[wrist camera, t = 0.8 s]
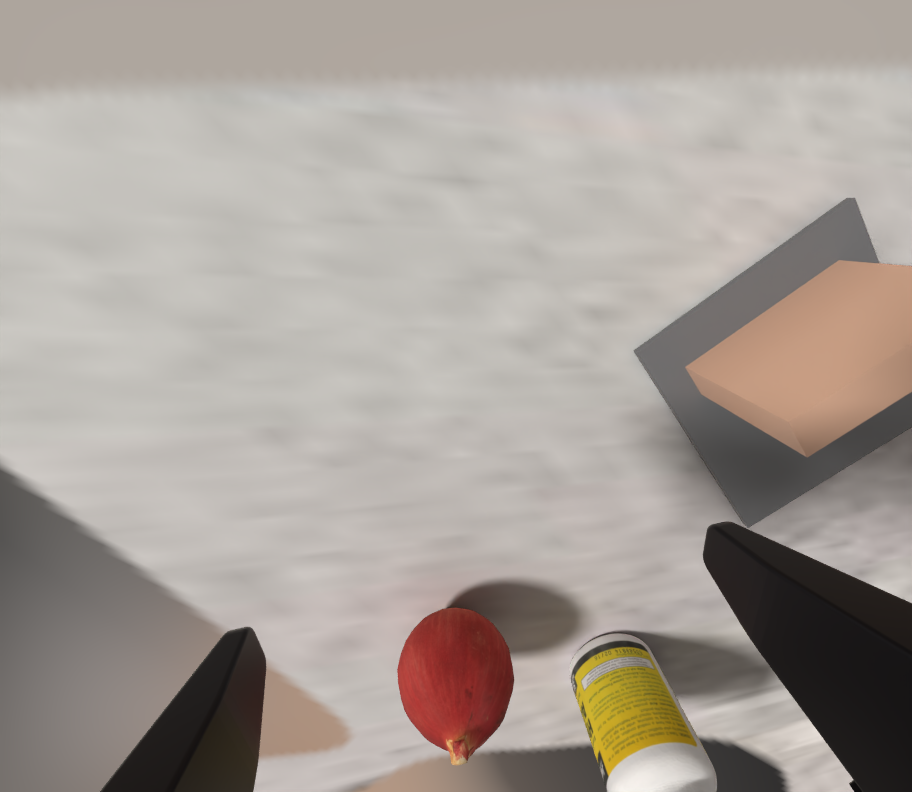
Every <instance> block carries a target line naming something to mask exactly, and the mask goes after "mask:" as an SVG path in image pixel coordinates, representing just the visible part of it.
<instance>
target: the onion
mask: <svg viewBox="0 0 912 792" xmlns="http://www.w3.org/2000/svg"><path fill="white" fill-rule="evenodd" d="M397 670H398V684H399V690H400V695H401V700H402V703H403V706H404V710H405V712H406V714H407V716H408V717H409V719H410V721H411V722H412V723H413V724H414V726H415V727H416V728H417V729H418V730H419V731H420V733H421V734H422V735H423V736H424V737H425V738H426V739H427V740H428V741H430V742H431V743H433V744H435V745H436V746H438V747H440V748H442V749H444V750H446V751H449V753H450V757H451V763H452V764H453V765H461V764H465V763H467V761H468V758H469V757H470V756H471V755H472V754H473V753H474V751H475V750H476V749H477V748H479V747H480V746H482V745H483V744H484V743H485V742H486V741H487V739H488V738H489V737H490V736H491V735H492V734H493V733H494V732H495V731H496V730H497V728H498V727H499V726H500V724H501V723H502V721H503V720H504V717H505V714H506V711H507V708H508V704H509V701H510V698H511V694H512V691H513V684H514V674H513V667H512V662H511V657H510V652H509V648H508V646H507V644H506V642H505V640H504V638H503V636H502V635H501V634H500V632H499V631H498V630H497V629H496V627H495V626H494V625H493V624H492V623H491V622H490V621H489V620H488V619H486V618H485V617H484V616H482V615H480V614H478V613H477V612H475V611H473V610H468V609H462V608H447V609H441V610H439V611H437V612H435V613H432V614H430V615H429V616H427V617H425V618H424V619H423V620H422V621H421V622H420V623H419V624H418V625H417V626H416V627H415V628H414V629H413V631H412V632H411V634H410V635H409V637H408V638H407V640H406V642H405V645H404V647H403V650H402V653H401V656H400V660H399V665H398V669H397Z"/></svg>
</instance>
